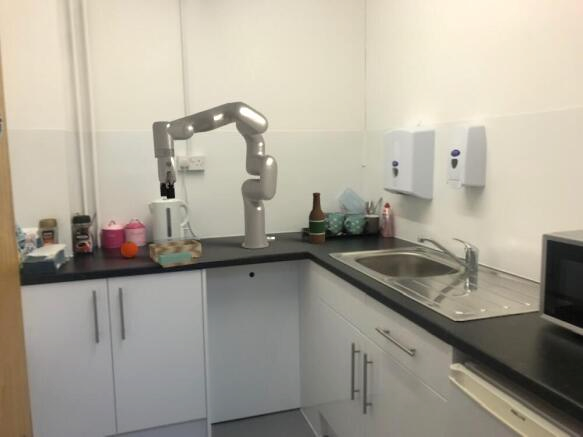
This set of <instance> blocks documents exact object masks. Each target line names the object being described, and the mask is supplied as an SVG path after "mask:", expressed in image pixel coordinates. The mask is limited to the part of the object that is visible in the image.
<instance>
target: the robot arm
mask: <svg viewBox="0 0 583 437" xmlns="http://www.w3.org/2000/svg"><path fill="white" fill-rule="evenodd" d="M234 123H235V127H236V130H237V132H238V133H239V134H241V136H242V137H243V139H244V140H245V143H246V144H245V145H246V151H245V152H246V155H245V171H246V173H247V174H248V175H250V176H257V177H259V178H248V179H246V180H244V181H243V183H242V185H241V188H240V192H241V196H242V201H243V211H244V213H243V214H244V215H243V217H244V242H243V243H242V244H241V247H242V248H244V249H254V250H255V249H256V250H257V249H264V248H267V247H269V245H270V243H269V242H271V241H273V242H275V240H276V238H275V235H274V236H267V235H266V212H265V211H266V209H265V204H264V201H271V200H272V199H274V197H275V195H276V193H277V187H278V186H277V184H278V163H277V160H276V159H275V157H274V156H272V155H270V154H266V143H265V139H264V137H263V135H262V134H264V133H265V132H267V131H268V128H269V121H268V118H267V117H266V116H265V115H264V114H263V113H261V112H259V111H258V110H256V108H253V107H252V106H251V105H249V104H247V103H245V102H243V101H233V102H226V103H223V104H220V105H218V106H217V105H216V106H215V107H211V108H209V109H205V110H202V111H199V112H196V113H193V114H191V115H187V116H186V115H185V116H184V117H181V118H178V119H174V120H171V121H168V120H165V121H164V120H163V121H162V120H161V121H154V122H153V123H152V141H153V149H154V150H153V151H154V159H157V161H156V162H157V163H156V164H157V177H158V181H159V192H160V197H162V198H163V197H166V199H167V200H173V199H176V191H175V190H176V189H175V183H177V174H176V164H175V160H174V158H175V157H176V156H175V155H176V154H175V143H174V142H175V141H187V140H189V139H191V138H192V137H193V136H194V134H197V133H206V132H210V131H214V130H216V129H219V128H222V127H224V126H227V125H230V124H234Z"/></svg>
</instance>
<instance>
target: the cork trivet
mask: <svg viewBox="0 0 583 437" xmlns="http://www.w3.org/2000/svg"><path fill="white" fill-rule="evenodd" d="M192 264H193V265H194V264H199V260H197V259H196V258H193V257H191V261H186V262H179V263H173V264H166V265H161V264H159V265H160V266H161V267H162V268H171V267H178V266H185V265H192Z"/></svg>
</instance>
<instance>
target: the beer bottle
mask: <svg viewBox="0 0 583 437" xmlns="http://www.w3.org/2000/svg"><path fill="white" fill-rule="evenodd" d="M325 241H326V216H325V213H324V212H323V210H322V205H321V193H320V192H313V193H312V209H311V211H310V212H309V215H308V242H309V243H310V244H314V245H315V244H317V245H319V244H324V243H325Z"/></svg>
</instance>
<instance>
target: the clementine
mask: <svg viewBox="0 0 583 437" xmlns="http://www.w3.org/2000/svg"><path fill="white" fill-rule="evenodd" d="M138 250H139V248H138V245H137V244H136V243H135V242H133V241H126V242H124V243H123V244H122V245H121V247H120V252H121V255H123V257H125V258H128V259H133V257H135V256H136V255H137V253H138V252H139V251H138Z"/></svg>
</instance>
